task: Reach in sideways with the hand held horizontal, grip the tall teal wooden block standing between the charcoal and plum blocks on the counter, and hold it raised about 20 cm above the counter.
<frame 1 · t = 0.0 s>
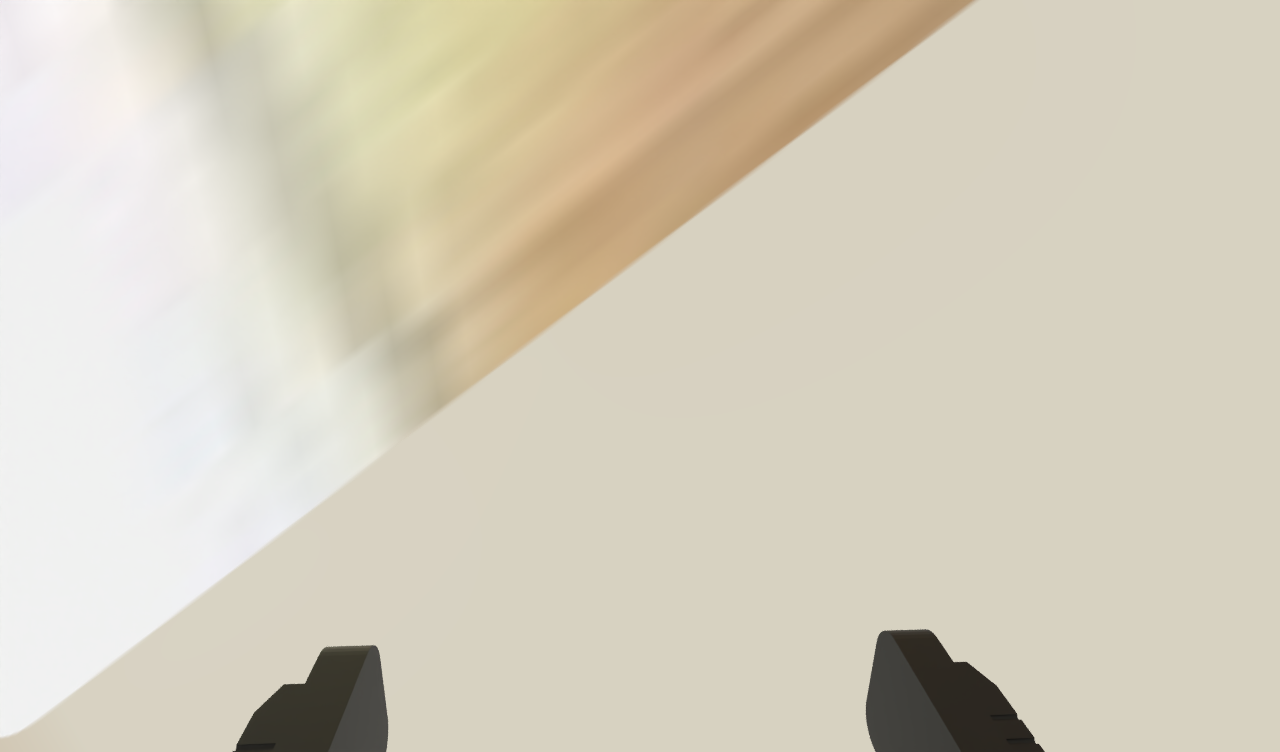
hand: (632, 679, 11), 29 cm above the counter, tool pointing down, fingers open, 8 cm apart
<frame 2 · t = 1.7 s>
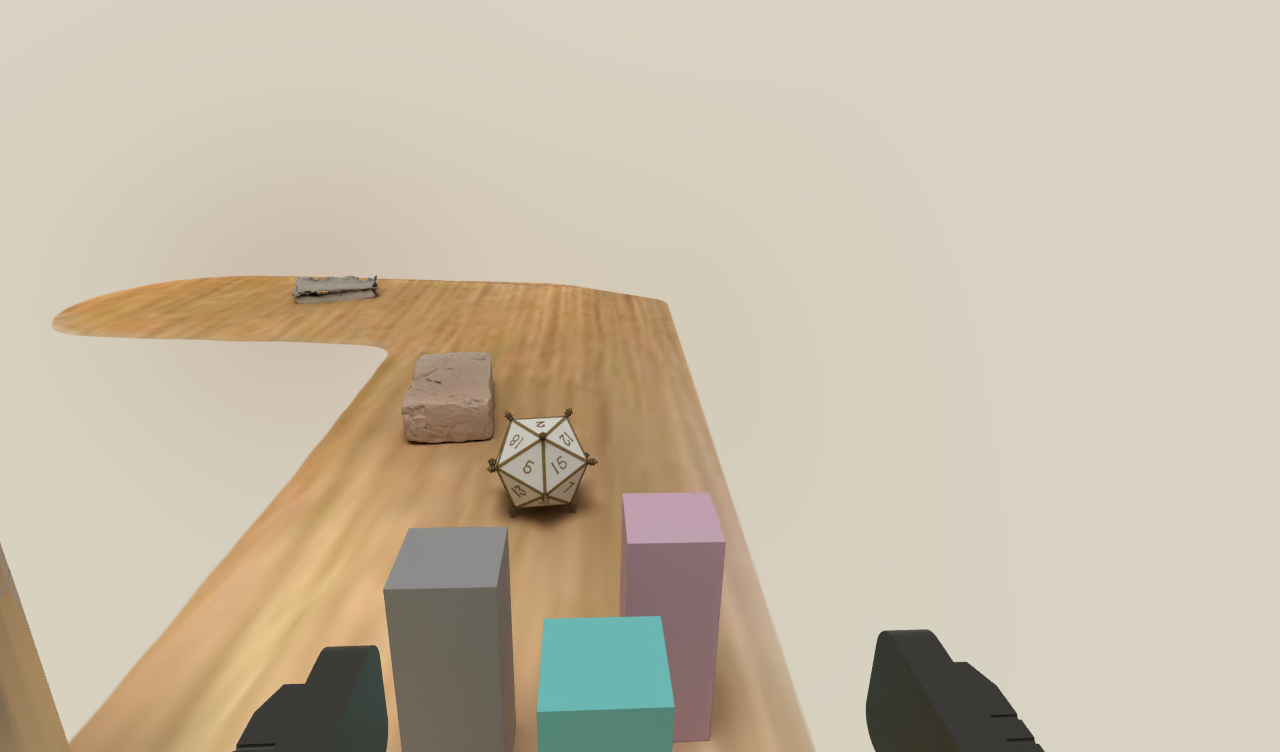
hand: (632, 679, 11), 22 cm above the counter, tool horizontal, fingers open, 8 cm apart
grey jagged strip: (338, 299, 120), on the counter
brick: (453, 415, 76), on the counter
game die: (542, 507, 58), on the counter
plum block: (661, 707, 38), on the counter
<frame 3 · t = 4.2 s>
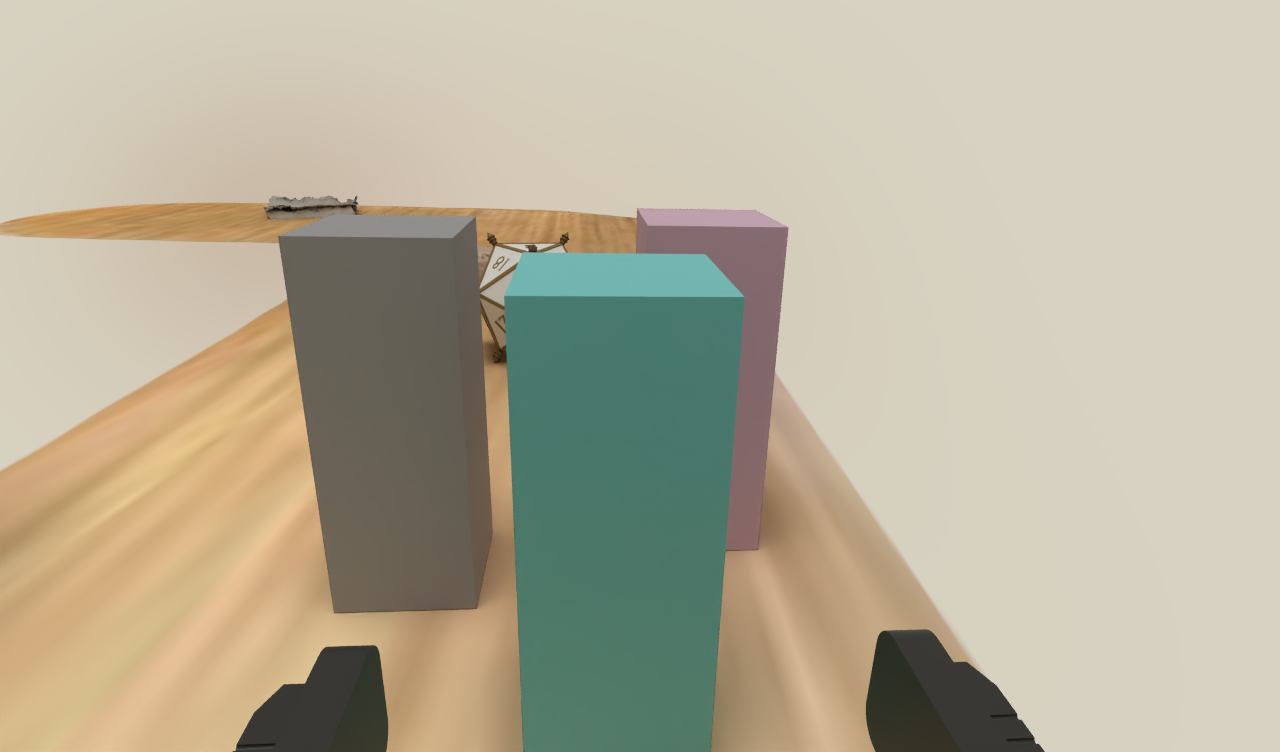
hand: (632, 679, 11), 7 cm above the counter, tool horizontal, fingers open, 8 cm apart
teal block: (613, 704, 19), on the counter
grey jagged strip: (314, 218, 110), on the counter
game die: (533, 357, 48), on the counter
plum block: (690, 519, 29), on the counter
charcoal block: (420, 569, 25), on the counter
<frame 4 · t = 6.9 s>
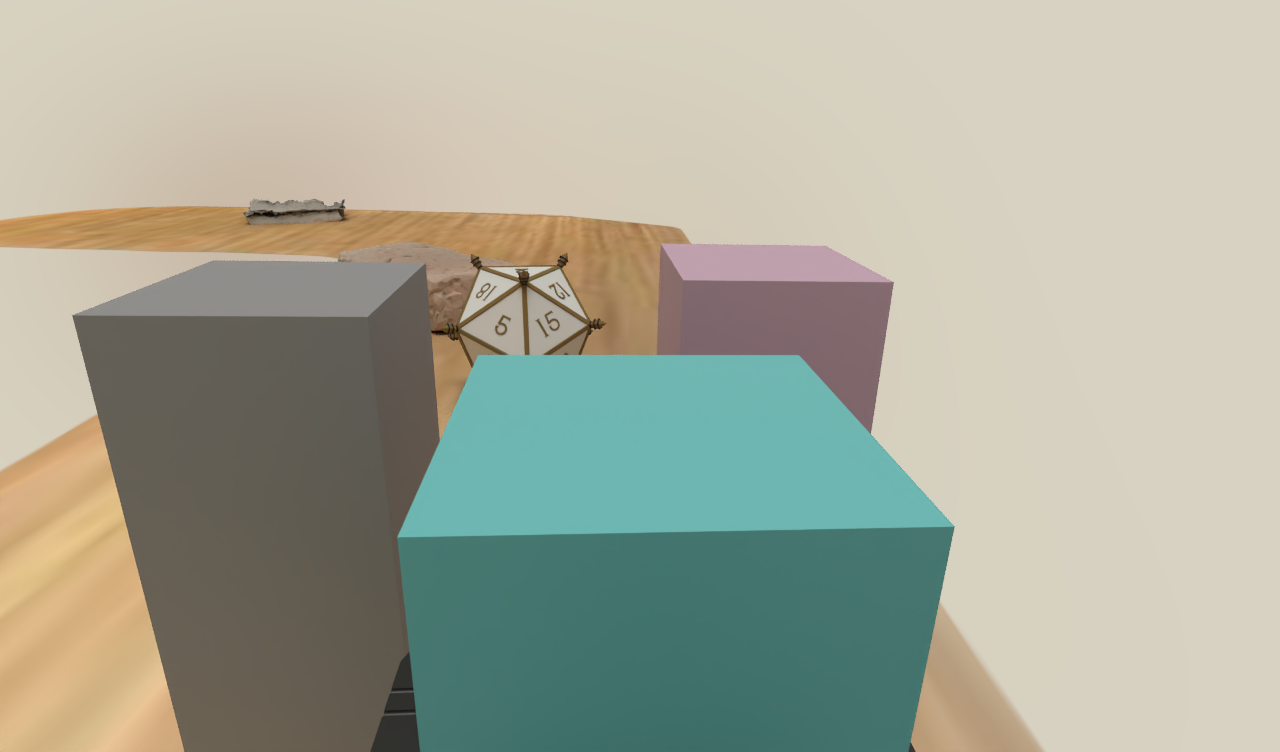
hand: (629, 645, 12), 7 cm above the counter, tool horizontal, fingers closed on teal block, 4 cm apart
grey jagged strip: (299, 223, 103), on the counter
brick: (429, 312, 59), on the counter
game die: (525, 400, 41), on the counter
plum block: (729, 662, 21), on the counter
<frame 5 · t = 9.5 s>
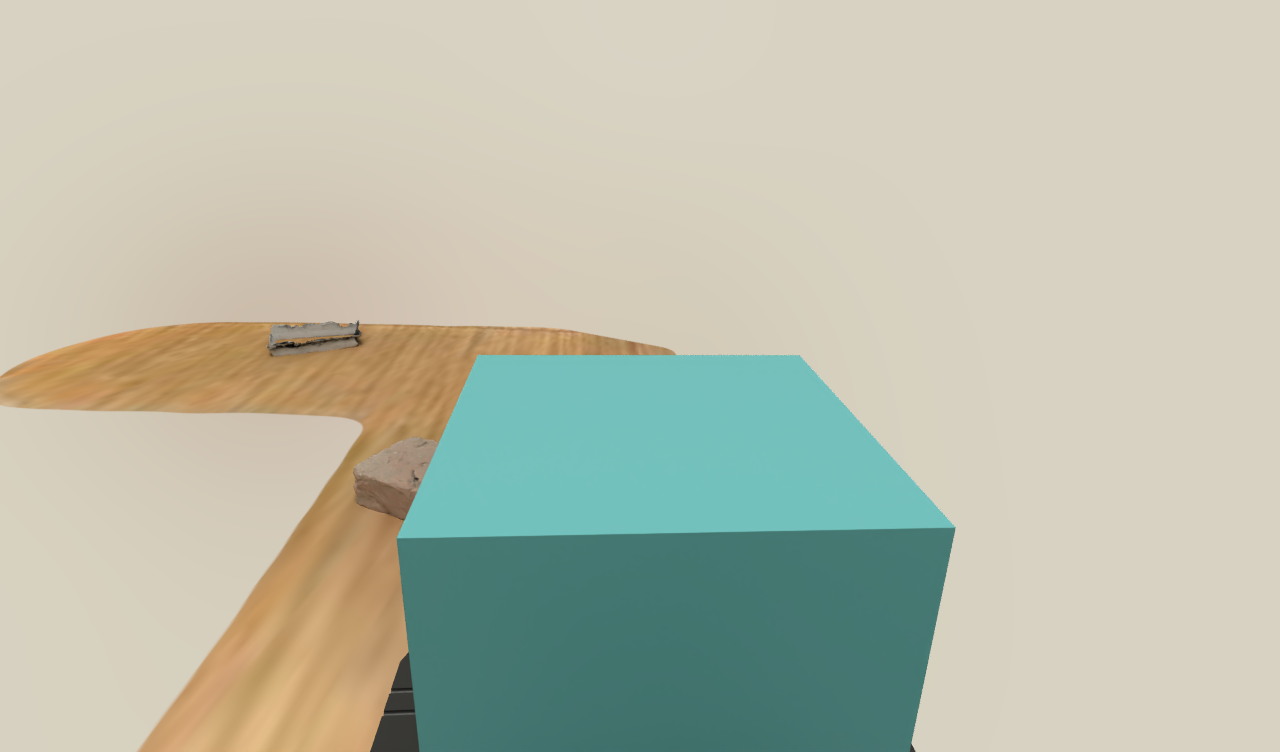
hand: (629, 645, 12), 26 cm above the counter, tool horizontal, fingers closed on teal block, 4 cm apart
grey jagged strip: (317, 348, 110), on the counter
brick: (450, 511, 66), on the counter
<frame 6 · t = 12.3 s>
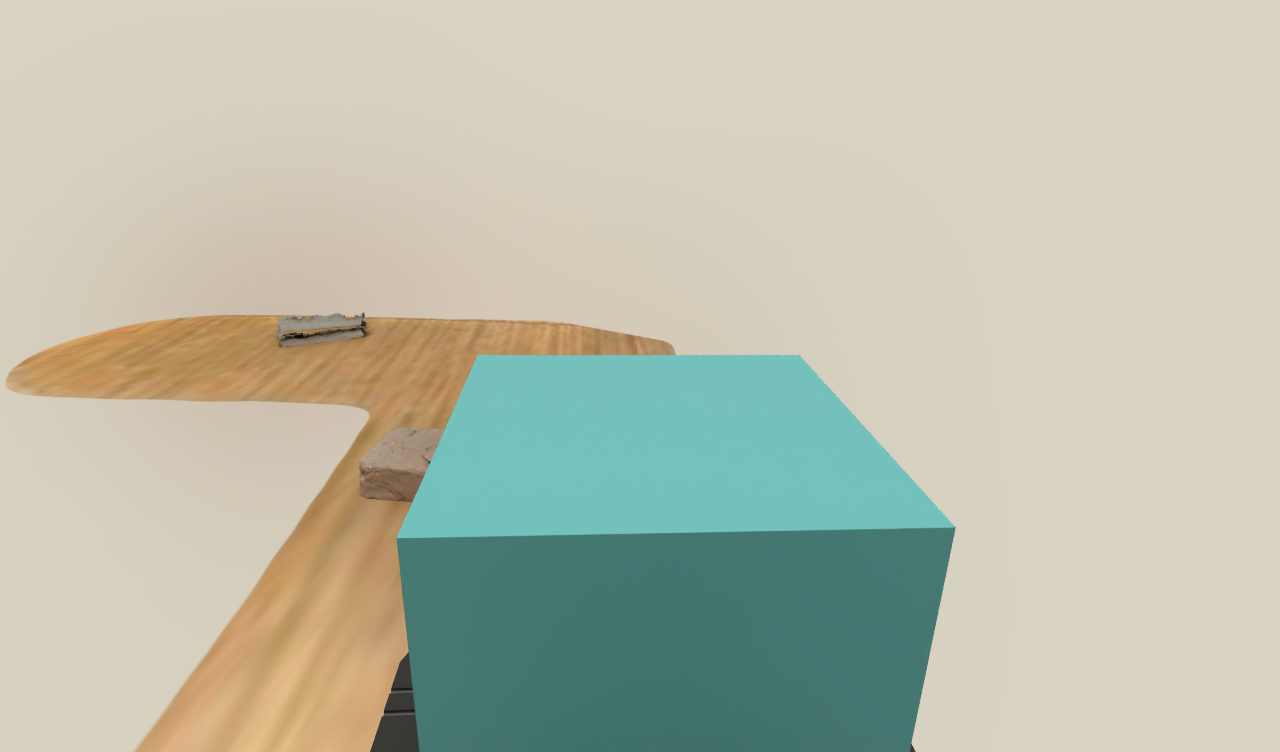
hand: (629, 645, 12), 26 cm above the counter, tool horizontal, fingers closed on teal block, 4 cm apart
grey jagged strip: (324, 339, 114), on the counter
brick: (457, 490, 69), on the counter
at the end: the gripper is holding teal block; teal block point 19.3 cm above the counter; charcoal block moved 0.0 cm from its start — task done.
